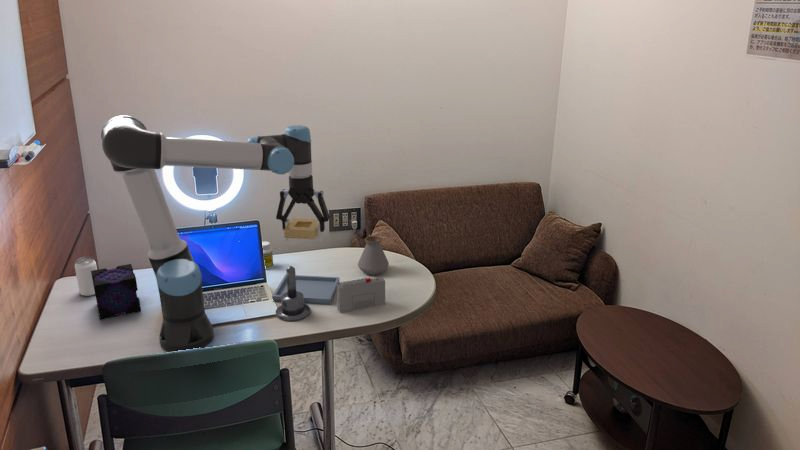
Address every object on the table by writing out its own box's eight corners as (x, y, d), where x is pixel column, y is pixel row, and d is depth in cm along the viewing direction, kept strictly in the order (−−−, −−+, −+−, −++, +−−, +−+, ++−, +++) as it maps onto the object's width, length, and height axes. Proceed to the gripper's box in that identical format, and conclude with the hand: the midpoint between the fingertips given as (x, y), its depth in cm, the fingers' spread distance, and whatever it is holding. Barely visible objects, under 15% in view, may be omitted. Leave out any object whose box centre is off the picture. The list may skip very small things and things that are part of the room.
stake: (305, 322, 187) (303, 275, 181) (271, 320, 188) (268, 273, 182) (313, 305, 197) (311, 260, 191) (281, 303, 198) (278, 258, 192)
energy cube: (136, 296, 202) (131, 263, 197) (141, 311, 192) (135, 277, 188) (97, 303, 196) (90, 270, 192) (100, 320, 186) (93, 285, 182)
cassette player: (382, 301, 201) (382, 274, 197) (385, 304, 198) (385, 277, 195) (337, 309, 195) (336, 281, 192) (339, 313, 193) (339, 285, 189)
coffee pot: (391, 276, 219) (392, 238, 213) (360, 278, 216) (360, 240, 211) (380, 253, 238) (380, 218, 233) (351, 255, 236) (351, 220, 230)
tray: (330, 304, 198) (330, 299, 197) (272, 301, 199) (272, 296, 199) (339, 282, 213) (339, 277, 212) (285, 279, 215) (285, 274, 214)
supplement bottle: (268, 262, 228) (266, 239, 225) (276, 267, 224) (274, 243, 221) (256, 266, 225) (254, 243, 221) (263, 271, 221) (261, 247, 218)
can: (85, 298, 199) (79, 265, 195) (76, 292, 203) (69, 260, 199) (104, 291, 204) (98, 259, 200) (95, 286, 208) (89, 254, 204)
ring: (315, 239, 191) (314, 230, 190) (284, 237, 192) (284, 229, 191) (323, 225, 203) (323, 217, 202) (295, 224, 204) (294, 215, 203)
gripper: (337, 172, 192) (340, 236, 200) (269, 170, 194) (274, 233, 202) (333, 179, 185) (335, 245, 193) (262, 177, 187) (267, 242, 195)
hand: (304, 239), depth 197 cm, fingers closed on ring, 10 cm apart
